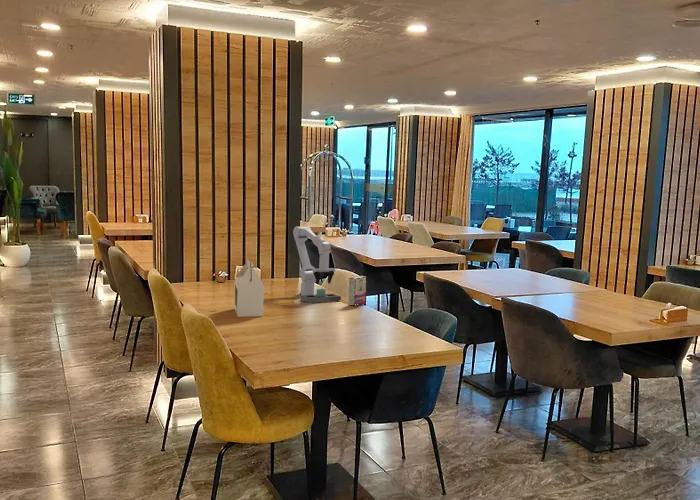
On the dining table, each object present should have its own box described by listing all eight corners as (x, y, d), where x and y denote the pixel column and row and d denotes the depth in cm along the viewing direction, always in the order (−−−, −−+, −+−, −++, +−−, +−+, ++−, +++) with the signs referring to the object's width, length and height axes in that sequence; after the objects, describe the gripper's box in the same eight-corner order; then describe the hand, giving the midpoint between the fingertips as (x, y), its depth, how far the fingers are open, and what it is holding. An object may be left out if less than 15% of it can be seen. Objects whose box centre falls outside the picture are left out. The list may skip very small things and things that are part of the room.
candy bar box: (359, 302, 377) (360, 275, 375) (365, 304, 374) (366, 276, 372) (347, 305, 368) (348, 277, 366) (354, 306, 365) (355, 278, 363)
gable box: (263, 316, 329) (264, 263, 326) (237, 317, 326) (238, 263, 323) (258, 308, 350) (259, 258, 348) (234, 308, 347) (235, 258, 344)
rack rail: (300, 300, 378) (300, 295, 378) (333, 298, 389) (333, 293, 389) (307, 303, 370) (307, 298, 369) (340, 301, 380) (340, 296, 380)
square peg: (316, 300, 380) (316, 288, 379) (322, 300, 382) (322, 288, 381) (319, 301, 377) (319, 290, 376) (325, 301, 378) (325, 289, 378)
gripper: (316, 262, 376) (315, 285, 378) (337, 262, 383) (337, 284, 385) (311, 261, 383) (310, 283, 384) (332, 260, 389) (331, 282, 391)
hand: (323, 283), depth 385 cm, fingers open, 7 cm apart
